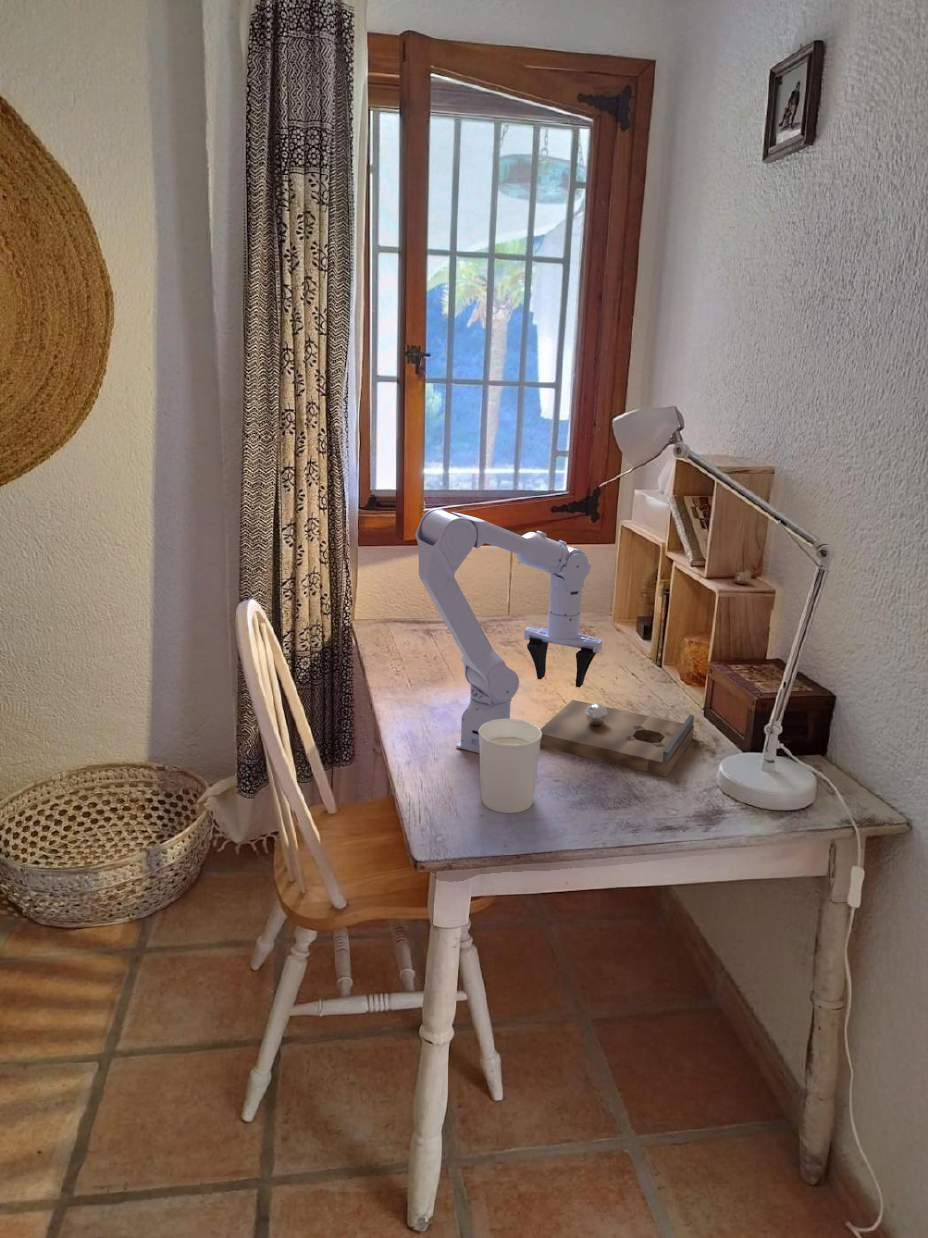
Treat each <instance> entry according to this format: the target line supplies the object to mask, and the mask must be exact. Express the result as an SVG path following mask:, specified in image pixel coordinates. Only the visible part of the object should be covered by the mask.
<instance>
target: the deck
mask: <svg viewBox="0 0 928 1238" xmlns="http://www.w3.org/2000/svg"><path fill="white" fill-rule="evenodd" d="M592 704H593V703H590V702H584V701H581V700H576V699H572V700H570V701H569V702H568V703H567V704H566V705H565V706H564V707H563V708H562V709H561V710H560V711H559V712H557V713H556V714H555V715H554V716H553V717H552V718H551V719H550V720H549V721H547V723H546V724H545V725H543V726H542V727H541V728H540V730H541V732H542V738H541V744H540V748H541V747H542V748H546V749H548V750H553V751H558V752H561V753H566V754H570V755H574V756H578V757H581V758H585V759H586V758H587V759H591V760H594V761H600V762H604V763H606V764H612V765H616V766H620V767H624V768H628V769H632V770H637V771H640V772H644V773H648V774H653V775H657V776H660V777H665V778H667V777H668V776H669V774H670V773H671V772H672V770H673V768H675V766H676V764H677V763H678V761H679V759H680V758H681V757H682V755H683V753H684V752H685V750H686V749H687V747H688V746H689V744H690V743H691V741H692V740H693V739H694V731H695V730H694V729H695V725H694V722H695V721H694V720H695V715H693V714H689V715H688V717H687V718H686V719H685V721H684V722H683V723H682V722H679V721H674V720H671V719H669V720H668V719H664V718H660V717H655V716H650V715H645V714H640V713H638V712H637V713H636V712H631V711H628V710H622V709H617V708H613V707H610V706H609V707H608V706H604V707H605V708H606V710H607V714H608V715H607V719H606V721H605V722H604V723H603V724H601V725H592V724H590V723H589V722H588V721H587V719H586V710H587V708H588V707H589V706H590V705H592Z"/></svg>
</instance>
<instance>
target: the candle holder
mask: <svg viewBox="0 0 928 1238" xmlns="http://www.w3.org/2000/svg"><path fill="white" fill-rule="evenodd" d="M540 729H541V728H539V727H538V726H537V725H535V724H534V723H531V722H530V721H526V720H522V719H516V718H510V719H497V720H492V721H489V722H486V723H484V724H483V725H482V726H481V727H480V728H479V748H480V753H479V776H480V777H479V779H480V780H479V781H480V782H479V783H480V785H479V786H480V799H481V803H482V804H483V805H484V806H485V807H486V808H487V809H489V810H491V811H494V812H497V813H502V814H517V813H521V812H525V811H527V810H528V809H531V807H532V805H533V803H534V800H535V792H536V784H537V778H538V777H537V776H538V768H539V767H538V766H539V760H540V752H541V751H540V750H541V747H540V744H541V738H542V732H541V730H540Z"/></svg>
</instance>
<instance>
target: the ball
mask: <svg viewBox="0 0 928 1238" xmlns="http://www.w3.org/2000/svg"><path fill="white" fill-rule="evenodd" d="M591 704H592V705H590V706H589V707H588V708H587V710H586V719H587V721H588V722H589V723H590V724H592V725H601V724H603V723H604V722H605V721H606V719H607V715H608V714H607V710H606V708H605V707H606V706H604V705H603V704H601V703H591Z"/></svg>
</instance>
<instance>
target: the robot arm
mask: <svg viewBox="0 0 928 1238" xmlns="http://www.w3.org/2000/svg"><path fill="white" fill-rule="evenodd" d="M414 537H415V539H416V542H417V545H418V576H419V579H420V581H421V583H422V585H423V586H424V588H425V590H426V592H427V594H428V595H429V597H430V599H431V600H432V602H433V604H434V606H435V608H436V610H437V611H438V613H439V615H440V616H441V619H442V620H443V622H444V624H445V625H446V627H447V629H448V631H449V633H450V634H451V636H452V638H453V640H454V643H456V645H457V647H458V648H459V651H460V652H461V654H462V656H461V662H462V664H463V669H464V677H465V680H466V681H467V682H468V684H470V699H469V703H468V706H467V707H466V709H465V710H464V711H463V713H462V715H461V726H460V727H461V728H460V741H459V742H457V743H456V744H455V746H456V748H458V749H462V750H465V751H469V752H472V753H478V754H480V748H479V728H480V727H481V726H482V725H483V724H484V723H486V722H489V721H492V720H497V719H511V702H512V698H514V696H515V695H516V693H517V692H518V689H519V687H520V686H519V685H520V680H519V675H518V674H517V672H516V671H514V670H513V669H511V668H510V667H508V665H507V664H506V663H505V660H504V659H503V658H502V657H501V656H500V654H498V652H497V651H496V650H495V649H494V648H493V647H492V644H491V643H490V641H489V639H488V637H487V635H486V634H485V632H484V630H483V628H482V626H481V623H479V621H478V618H477V617H476V615H475V613H474V610H473V609H472V607H471V606H470V604H469V601H468V600H467V598H466V596H465V594H464V592H463V591H462V589H461V587H460V585H459V583H458V582H457V579H456V578H455V574H456V571H458V570H459V568H460V566H461V565H462V564H463V562H464V561H465V559H466V558H467V557H468V556H469V554H470V553H471V551H472V550H473V549H474V548H475V549H480V548H481V547H482V546H483V545H484V544H488V545H490V546H493V547H496V548H499V549H501V550H506V551H509V552H512V553H515V555H516V559H517V560H518V562H519V563H520V564H523V565H525V566H528V567H530V568H533V569H536V570H538V571H539V570H540V571H542V572H545V573H548V574H550V580H549V582H550V584H549V597H548V598H549V601H548V617H547V618H548V619H547V628H543V627H542V628H541V627H531V626H528V627H526V628H525V629H524V632H523V633H524V636H523V639H524V640H526V641H528V643H527V644H526V648H527V651H528V653H529V655H530V657H531V659H532V661H533V665H534V668H535V672H536V678H537V680H543V678H544V677H546V668H547V667H546V666H547V665H546V663H547V653H548V647H549V644H554V645H560V646H565V647H571V648H577V649H579V650H578V651H577V652H576V653H575V659H576V675H575V688H579V689H580V688H581V687H582V686H583V685H584V682H585V678H586V675H587V672H588V669H589V667H590V665H591V663H592V661H593V660H594V658H595V656H596V655H597V654H598V653H600V652H601V651H602V650H603V639H599V638H595V637H592V636H589V635H586V634H583V633H580V624H581V623H580V621H581V607H582V594H583V593H582V592H583V591H582V590H583V588H584V585H585V580H586V578H587V577H588V575H589V573H590V571H591V567H592V566H591V565H592V564H590V563H589V560H588V559H589V558H588V556H587V555H586V553H585V552H584V551H583V550H580V549H577V548H575V547H571V546H569V545H568V544H567V541H563V540H561V539H559V540H558V541H557V540H554V539H552V538H548V537H547V533H545V532H543V531H540V530H536V532H533V531H529V532H527V533H525V534H523V535H520V534H517V533H515V532H513V531H511V530H508V529H505V528H503V527H500V526H498V525H495V524H494V523H490V522H489V521H487V520H483V519H481V518H478V517H474V516H471V515H467V514H463V513H459V512H454V511H451V513H450V512H449V511H447V510H445V509H442V508H433V509H430V510H428V511H427V512H426V513H424V514H423V516H422V517H421V519H420V521H419V524H418V527H417V529H416V532H415V533H414Z"/></svg>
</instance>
